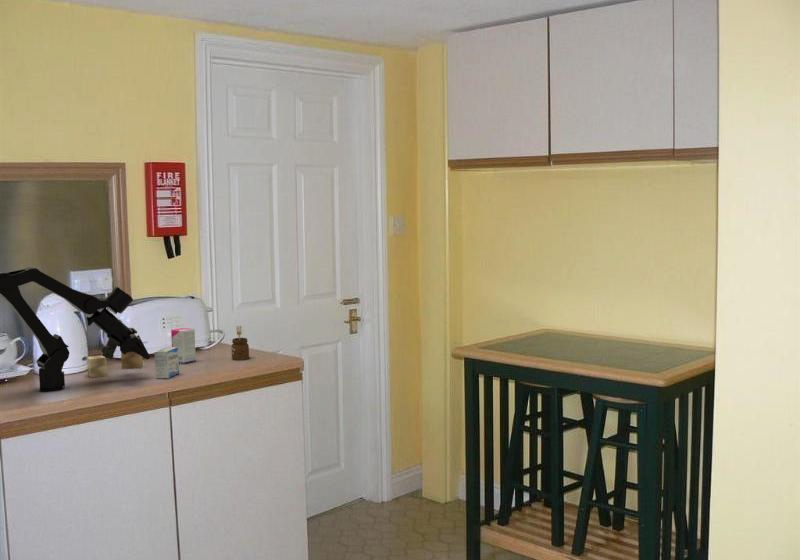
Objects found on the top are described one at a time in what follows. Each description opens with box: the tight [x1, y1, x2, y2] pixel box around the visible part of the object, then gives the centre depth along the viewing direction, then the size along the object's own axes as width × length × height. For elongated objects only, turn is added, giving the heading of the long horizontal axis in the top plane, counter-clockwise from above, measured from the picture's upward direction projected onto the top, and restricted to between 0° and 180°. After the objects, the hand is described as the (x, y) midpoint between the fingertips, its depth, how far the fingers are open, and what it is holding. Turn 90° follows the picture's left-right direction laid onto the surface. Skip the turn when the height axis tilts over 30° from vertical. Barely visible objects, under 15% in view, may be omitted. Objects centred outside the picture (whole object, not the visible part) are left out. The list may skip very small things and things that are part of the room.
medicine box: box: [154, 346, 180, 379], centre depth 274 cm, size 8×4×9 cm, turn 169°
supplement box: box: [170, 327, 197, 365], centre depth 296 cm, size 6×6×12 cm
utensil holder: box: [231, 325, 250, 361], centre depth 300 cm, size 6×6×12 cm
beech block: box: [86, 354, 108, 379], centre depth 277 cm, size 5×5×6 cm
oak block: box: [120, 351, 144, 370], centre depth 289 cm, size 6×4×7 cm, turn 94°
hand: (149, 358), depth 272 cm, fingers closed
